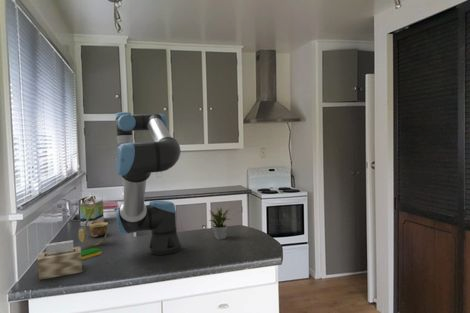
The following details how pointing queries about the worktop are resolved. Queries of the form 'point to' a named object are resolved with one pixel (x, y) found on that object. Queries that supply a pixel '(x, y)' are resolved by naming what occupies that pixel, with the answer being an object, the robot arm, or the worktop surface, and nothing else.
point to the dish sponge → (90, 253)
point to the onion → (97, 229)
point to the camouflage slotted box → (59, 264)
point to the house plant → (219, 224)
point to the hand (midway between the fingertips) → (128, 187)
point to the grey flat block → (59, 248)
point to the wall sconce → (98, 225)
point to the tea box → (86, 210)
